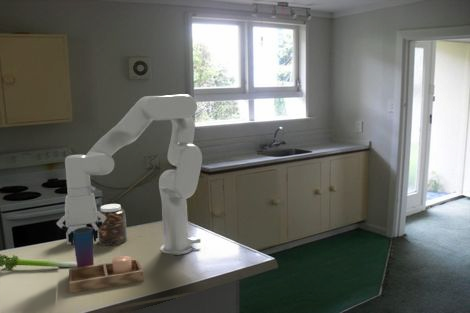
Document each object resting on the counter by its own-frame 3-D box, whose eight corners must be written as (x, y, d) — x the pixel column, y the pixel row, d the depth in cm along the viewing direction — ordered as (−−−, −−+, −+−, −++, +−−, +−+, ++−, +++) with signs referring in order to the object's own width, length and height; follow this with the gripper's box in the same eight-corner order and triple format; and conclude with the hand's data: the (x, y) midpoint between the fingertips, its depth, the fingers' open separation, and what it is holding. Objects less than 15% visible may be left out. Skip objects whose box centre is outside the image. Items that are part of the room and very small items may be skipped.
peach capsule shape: (130, 271, 148) (129, 254, 147) (133, 278, 142) (132, 260, 141) (112, 274, 146) (111, 257, 145) (114, 281, 140) (113, 263, 139)
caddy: (137, 269, 152) (137, 258, 151) (143, 282, 140) (142, 271, 140) (70, 280, 144) (69, 268, 143) (70, 295, 133) (69, 283, 132)
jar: (133, 240, 183) (130, 205, 181) (108, 247, 174) (106, 211, 172) (116, 234, 191) (114, 201, 189) (92, 242, 182) (90, 207, 180)
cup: (89, 276, 147) (86, 233, 145) (71, 275, 148) (67, 232, 146) (99, 268, 153) (96, 227, 151) (82, 267, 155) (79, 226, 153)
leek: (77, 277, 151) (-9, 272, 151) (84, 272, 158) (1, 267, 158) (78, 259, 151) (-8, 255, 151) (85, 255, 158) (2, 250, 158)
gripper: (105, 186, 153) (108, 235, 156) (52, 192, 147) (56, 242, 150) (107, 190, 146) (110, 241, 149) (51, 196, 140) (56, 249, 143)
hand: (83, 241), depth 149 cm, fingers closed on cup, 6 cm apart
